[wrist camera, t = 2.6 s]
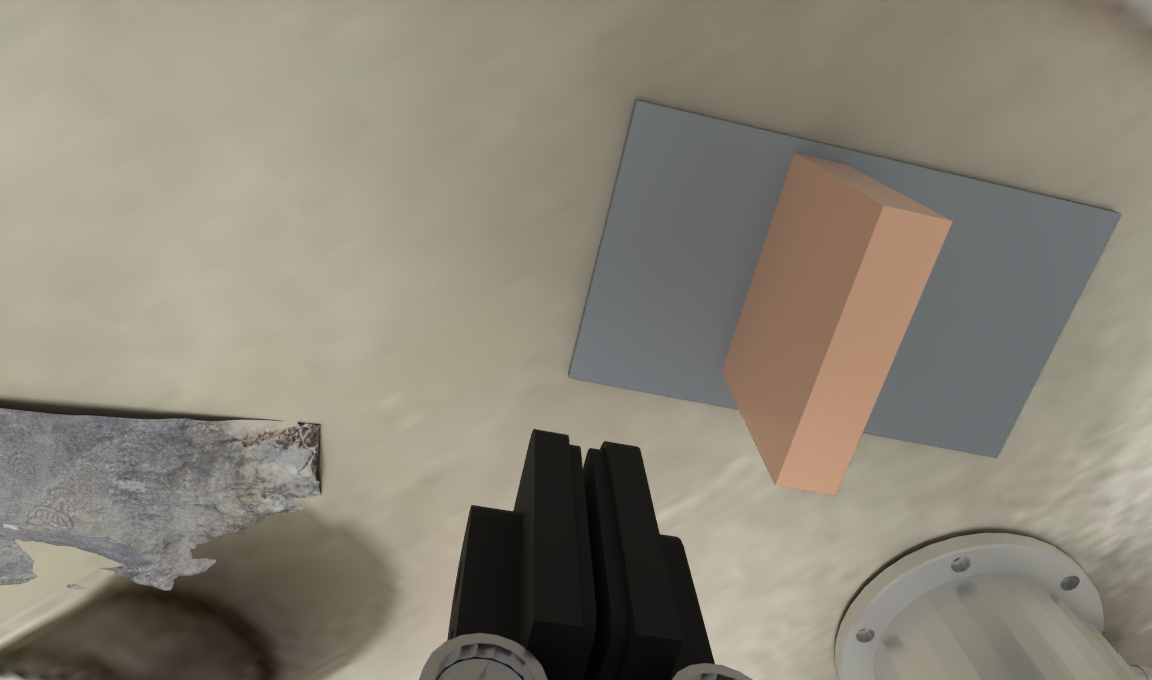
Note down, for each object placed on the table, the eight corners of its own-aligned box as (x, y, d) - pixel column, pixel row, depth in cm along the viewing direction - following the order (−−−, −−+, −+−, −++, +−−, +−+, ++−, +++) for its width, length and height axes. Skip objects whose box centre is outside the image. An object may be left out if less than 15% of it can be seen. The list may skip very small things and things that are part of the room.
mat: (1113, 210, 30) (1121, 214, 29) (991, 451, 34) (997, 458, 33) (635, 99, 27) (637, 100, 27) (568, 372, 32) (568, 378, 31)
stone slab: (-94, 602, 34) (-174, 409, 29) (-66, 571, 36) (-138, 385, 31) (328, 608, 36) (313, 426, 31) (337, 579, 37) (324, 402, 33)
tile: (847, 164, 28) (954, 221, 21) (769, 381, 31) (837, 496, 24) (794, 152, 28) (883, 205, 20) (721, 372, 31) (775, 485, 24)
